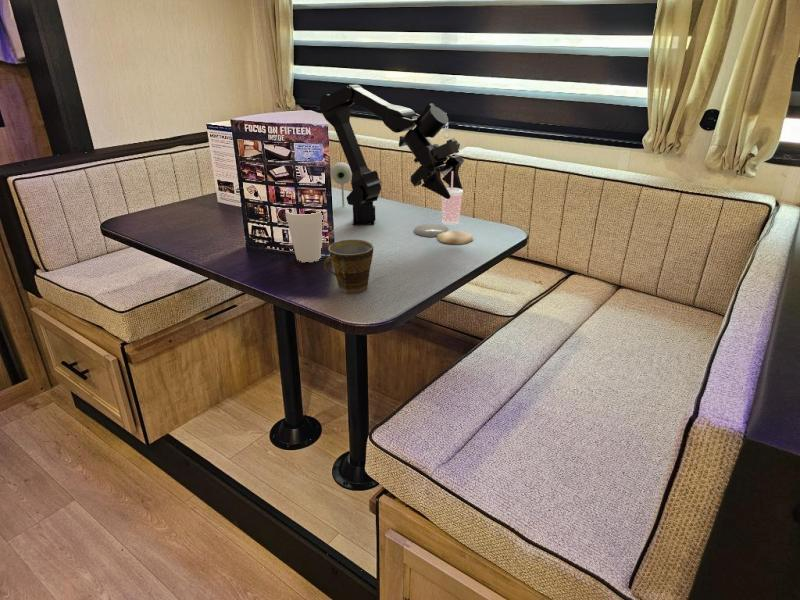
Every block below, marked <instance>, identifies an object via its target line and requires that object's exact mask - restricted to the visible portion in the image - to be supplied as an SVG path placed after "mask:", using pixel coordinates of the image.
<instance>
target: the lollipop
mask: <svg viewBox="0 0 800 600" xmlns="http://www.w3.org/2000/svg"><path fill="white" fill-rule="evenodd" d="M330 176H331V179H332V180H333V181H334V182H335V183H336V184H338V185H341V188H340V189H341V201H342V207H343V206H345V194H344V193H345V192H344V191H345V190H344V185H345V184H347V183H349V182H351V179H352V172H351V169H350V167H349V164H348V162H347V163H346V162H342V161H341V162H340V161H339V162H336V163H334V164H333V166H332V168H331V169H330Z"/></svg>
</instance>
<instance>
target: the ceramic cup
mask: <svg viewBox="0 0 800 600" xmlns="http://www.w3.org/2000/svg"><path fill="white" fill-rule="evenodd" d="M327 248H328V255H329V256H328V257H326V259H324V263H323V267H324V270H326V272H329V273H331V274H332V275H333V276H334V277H335V278H336V284H337V286H338V291H339V292H341V293H344V294H346V295H353V294H360V293H362V292H363V293H364V291H366V290H368V287H369V279H370V271H371V270H370V269H371V266H372V261H373V256H374V248H375V247H374V244H373V243H371V241H367V240H363V239H344V240H339V241H336V242H333V243H331V244H330V245H329V246H328V247H327ZM330 261H331V266H332V268H333V271H332V270H330V269H328V268H327V266H328V265H327V264H328V263H329V262H330Z"/></svg>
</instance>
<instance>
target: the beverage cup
mask: <svg viewBox="0 0 800 600" xmlns="http://www.w3.org/2000/svg"><path fill="white" fill-rule="evenodd" d="M446 189H447V190H448V192H449V194H450V196H451V197H450V198H449V199H446V198H444V197H443V196H441V195H440V196H441V221H442V224H444V225H445V226H455V225H458V224H460V218H461V217H460V216H461V208H462V199H463V197H462V196H463V194H464V189H463V190H462V189H460V188H453V171H452V175H451V186H450V187H446Z"/></svg>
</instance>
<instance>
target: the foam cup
mask: <svg viewBox="0 0 800 600" xmlns="http://www.w3.org/2000/svg"><path fill="white" fill-rule="evenodd" d="M284 212H285V218H286V219H285V220H286V222H287V224H288V225H287V226H288V228H289V233H290V238H291V240H292V241H291V242H292V246H293V250H294V254H295V257H296V260H297V261H298V260H299V261H298V262H300V261H301V262H300V263H305V262H309V263H314V261H315V262H318V261H320V260H321V259H320V258H322V254H321V248H322V249H323V236H322V220H323V221H324V219H323V215H322V213H321V211H319V212H316V213H311V214H292V213H289V210H286V209H285V211H284ZM319 259H320V260H319Z"/></svg>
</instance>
